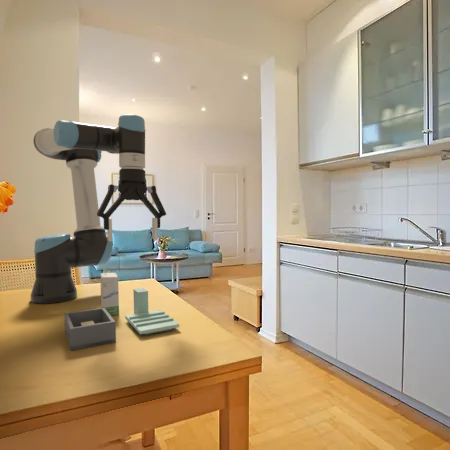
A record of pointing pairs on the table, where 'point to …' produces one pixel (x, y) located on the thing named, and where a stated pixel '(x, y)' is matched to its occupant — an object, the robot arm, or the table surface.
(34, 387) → the table surface
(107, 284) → the ink box
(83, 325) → the tub
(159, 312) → the lid
